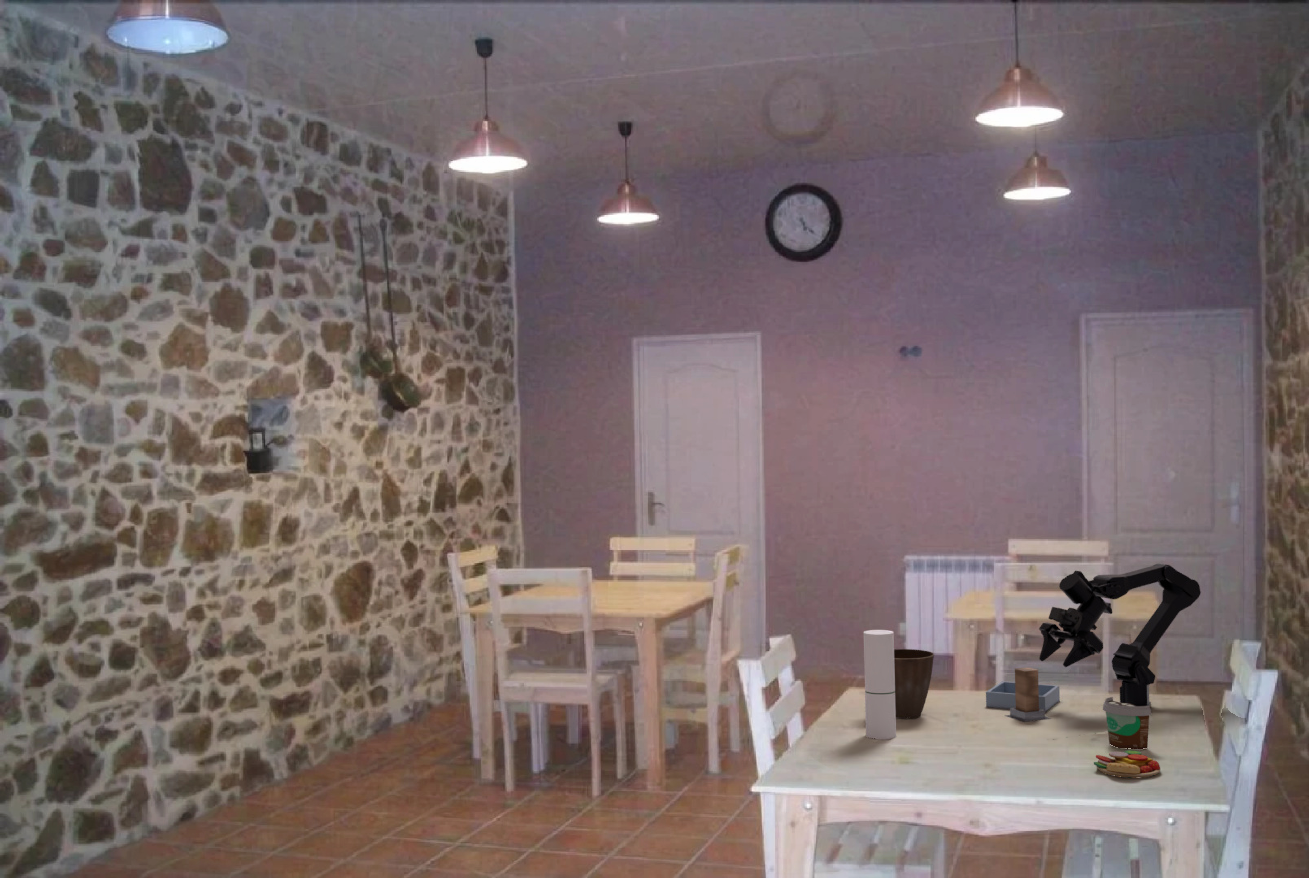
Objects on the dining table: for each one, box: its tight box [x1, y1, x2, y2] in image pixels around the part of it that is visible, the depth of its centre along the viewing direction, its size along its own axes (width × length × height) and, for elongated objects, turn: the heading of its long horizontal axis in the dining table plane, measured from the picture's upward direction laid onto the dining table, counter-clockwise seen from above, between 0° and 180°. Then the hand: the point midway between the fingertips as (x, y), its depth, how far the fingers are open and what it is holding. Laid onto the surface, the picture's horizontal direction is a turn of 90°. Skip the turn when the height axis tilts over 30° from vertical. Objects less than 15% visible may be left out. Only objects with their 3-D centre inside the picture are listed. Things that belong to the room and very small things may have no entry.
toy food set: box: [1093, 749, 1161, 779], centre depth 275 cm, size 13×13×3 cm
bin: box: [985, 681, 1061, 713], centre depth 340 cm, size 15×15×4 cm
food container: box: [1102, 696, 1152, 750], centre depth 295 cm, size 12×6×10 cm, turn 25°
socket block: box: [1004, 707, 1052, 723], centre depth 324 cm, size 8×8×3 cm
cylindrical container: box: [863, 629, 897, 740], centre depth 311 cm, size 7×7×25 cm
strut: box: [1014, 667, 1039, 712], centre depth 324 cm, size 4×4×12 cm
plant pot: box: [894, 648, 935, 719], centre depth 332 cm, size 15×15×16 cm
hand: (1052, 663), depth 327 cm, fingers open, 9 cm apart
